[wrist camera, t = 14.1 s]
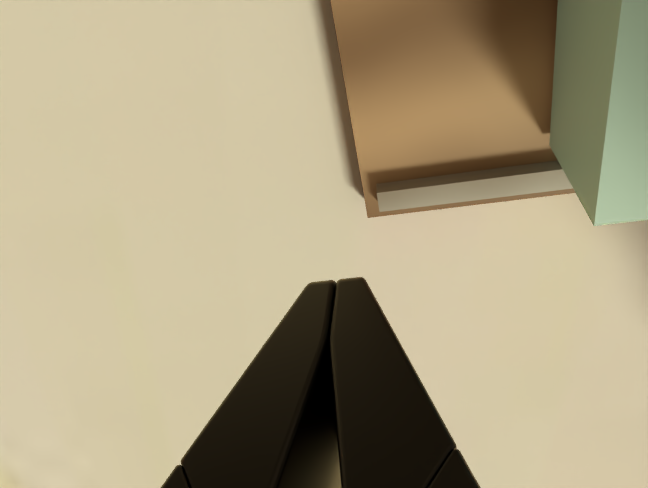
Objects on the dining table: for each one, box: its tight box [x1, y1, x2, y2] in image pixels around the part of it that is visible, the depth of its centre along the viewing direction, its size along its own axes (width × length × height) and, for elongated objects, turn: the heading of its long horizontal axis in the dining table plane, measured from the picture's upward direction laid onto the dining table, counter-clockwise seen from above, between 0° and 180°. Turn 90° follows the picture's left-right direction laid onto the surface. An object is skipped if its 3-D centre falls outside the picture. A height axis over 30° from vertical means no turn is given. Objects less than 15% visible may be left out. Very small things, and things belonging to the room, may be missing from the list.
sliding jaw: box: [549, 0, 648, 226], centre depth 14 cm, size 8×2×4 cm, turn 11°
